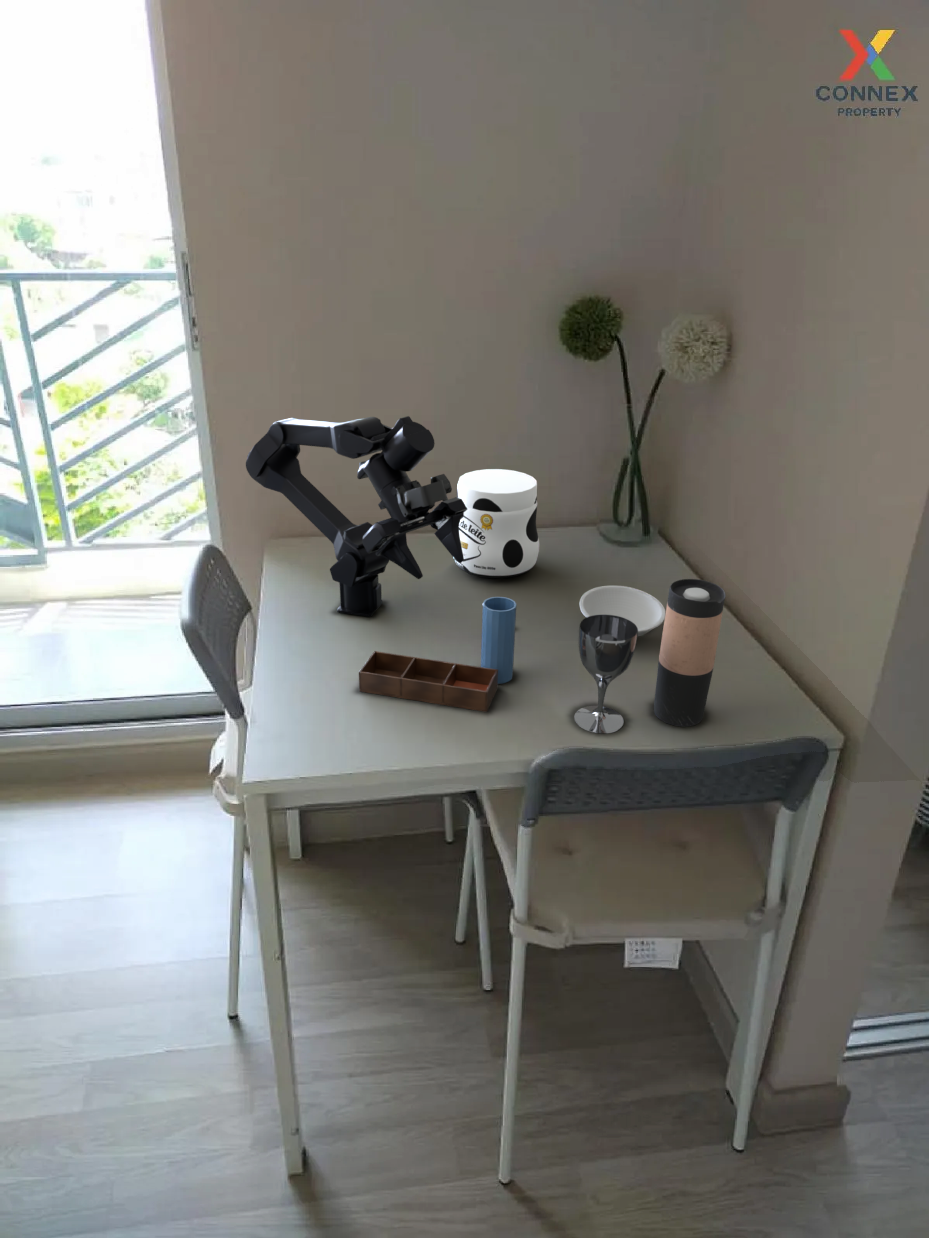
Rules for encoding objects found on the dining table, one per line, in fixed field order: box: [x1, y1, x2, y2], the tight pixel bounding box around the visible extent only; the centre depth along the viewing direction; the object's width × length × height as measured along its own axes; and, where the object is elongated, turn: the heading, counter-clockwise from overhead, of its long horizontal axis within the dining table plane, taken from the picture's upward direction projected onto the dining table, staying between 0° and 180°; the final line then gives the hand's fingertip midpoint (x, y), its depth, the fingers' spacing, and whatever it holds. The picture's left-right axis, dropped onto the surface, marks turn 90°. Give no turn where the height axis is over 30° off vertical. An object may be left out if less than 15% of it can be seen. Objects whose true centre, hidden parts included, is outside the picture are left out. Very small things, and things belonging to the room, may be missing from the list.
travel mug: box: [653, 578, 726, 727], centre depth 124 cm, size 8×8×20 cm
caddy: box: [358, 650, 499, 713], centre depth 132 cm, size 20×7×3 cm, turn 75°
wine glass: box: [573, 615, 639, 734], centre depth 123 cm, size 8×8×15 cm
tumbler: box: [480, 596, 517, 685], centre depth 134 cm, size 5×5×12 cm
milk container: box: [452, 468, 540, 579], centre depth 171 cm, size 17×17×18 cm
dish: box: [578, 585, 666, 638], centre depth 149 cm, size 18×14×5 cm
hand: (441, 569), depth 139 cm, fingers open, 9 cm apart
